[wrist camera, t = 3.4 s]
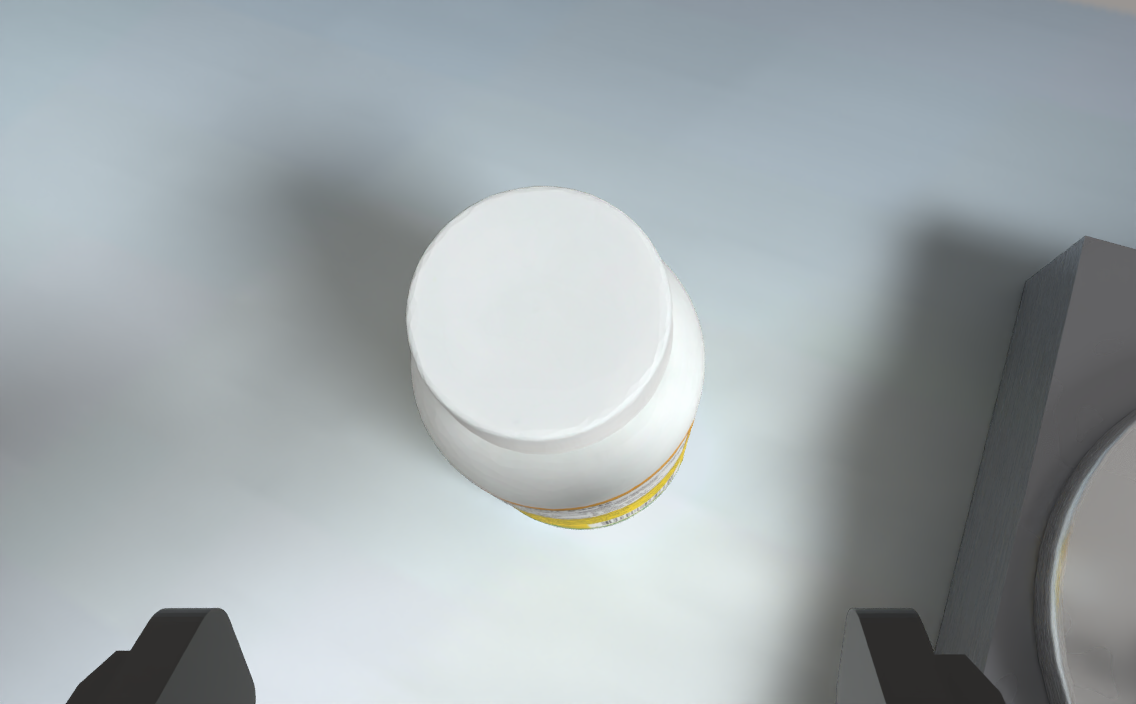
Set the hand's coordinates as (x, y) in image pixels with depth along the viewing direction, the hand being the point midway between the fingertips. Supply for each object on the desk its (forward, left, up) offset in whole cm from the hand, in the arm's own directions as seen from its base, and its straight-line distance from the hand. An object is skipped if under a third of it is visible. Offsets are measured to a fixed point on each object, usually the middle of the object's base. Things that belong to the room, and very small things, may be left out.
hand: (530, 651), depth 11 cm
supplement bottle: (0, -5, -10) cm, 11 cm away
